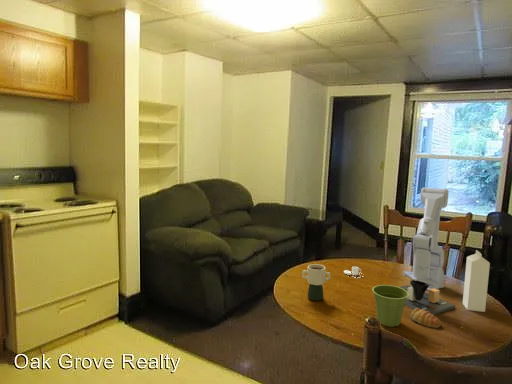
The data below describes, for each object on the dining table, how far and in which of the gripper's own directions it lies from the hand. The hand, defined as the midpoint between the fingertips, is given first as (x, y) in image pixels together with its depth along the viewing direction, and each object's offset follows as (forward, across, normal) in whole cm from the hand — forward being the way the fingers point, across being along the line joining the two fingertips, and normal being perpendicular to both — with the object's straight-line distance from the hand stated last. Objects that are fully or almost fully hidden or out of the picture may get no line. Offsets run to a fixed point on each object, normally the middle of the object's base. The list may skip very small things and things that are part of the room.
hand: (418, 299), depth 138 cm
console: (+2, -3, +4) cm, 5 cm away
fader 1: (+1, -3, 0) cm, 3 cm away
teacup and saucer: (+3, -39, +2) cm, 39 cm away
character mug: (+3, -22, -32) cm, 39 cm away
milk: (+3, +10, +18) cm, 21 cm away
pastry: (+3, +10, -9) cm, 13 cm away
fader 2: (+1, +2, +6) cm, 6 cm away
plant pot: (+3, +4, -21) cm, 22 cm away
